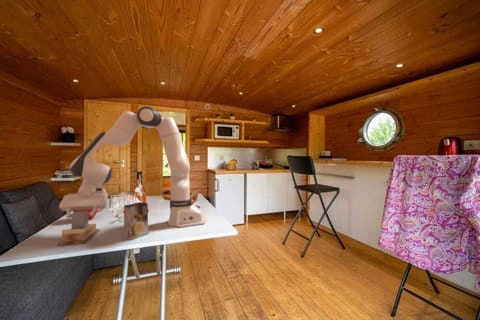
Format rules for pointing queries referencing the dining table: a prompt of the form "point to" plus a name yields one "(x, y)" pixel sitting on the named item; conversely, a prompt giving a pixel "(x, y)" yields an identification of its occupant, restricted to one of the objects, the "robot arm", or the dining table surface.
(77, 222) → the grey block
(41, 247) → the dining table surface
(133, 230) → the coffee box
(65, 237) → the display stand
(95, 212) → the red cup
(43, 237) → the dining table surface
